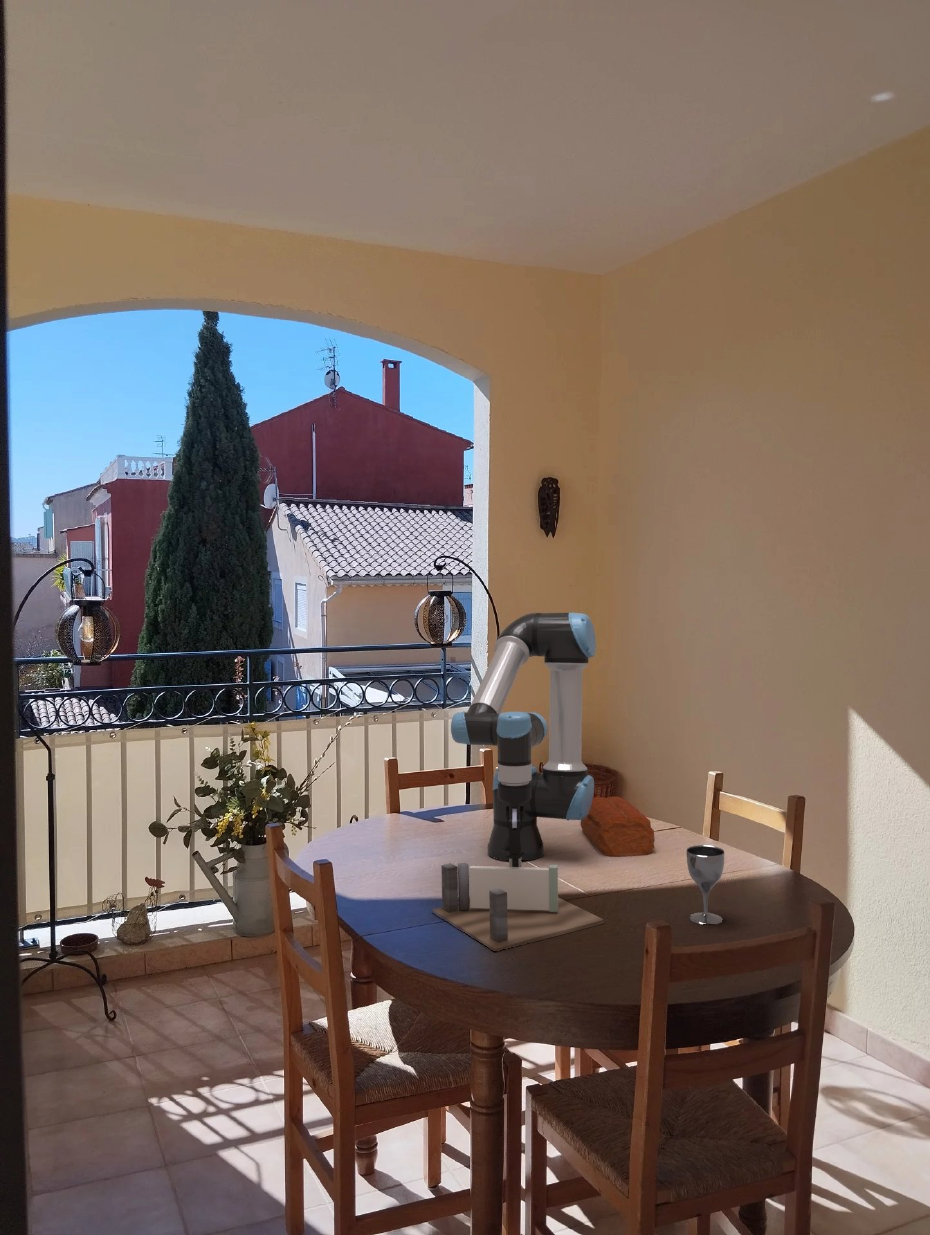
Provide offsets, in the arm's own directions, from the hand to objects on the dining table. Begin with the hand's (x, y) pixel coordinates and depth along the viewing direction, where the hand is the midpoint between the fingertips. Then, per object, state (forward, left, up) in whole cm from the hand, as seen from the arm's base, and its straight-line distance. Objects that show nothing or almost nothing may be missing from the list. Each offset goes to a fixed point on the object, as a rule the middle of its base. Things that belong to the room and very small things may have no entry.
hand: (515, 885), depth 214 cm
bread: (-28, +52, -6) cm, 60 cm away
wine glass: (+27, +31, -6) cm, 42 cm away
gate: (+2, -3, -5) cm, 6 cm away
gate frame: (+4, -3, -6) cm, 8 cm away
